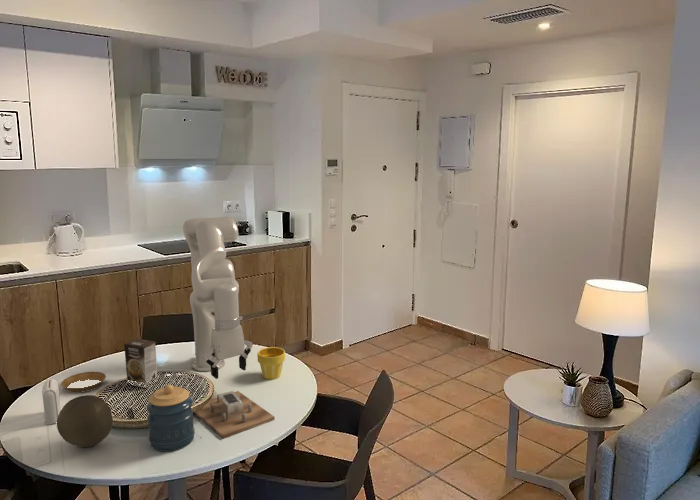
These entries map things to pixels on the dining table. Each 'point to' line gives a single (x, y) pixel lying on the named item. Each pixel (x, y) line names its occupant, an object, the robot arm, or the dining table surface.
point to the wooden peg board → (227, 428)
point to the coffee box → (140, 360)
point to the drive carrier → (231, 405)
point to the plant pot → (271, 362)
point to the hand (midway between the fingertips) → (229, 373)
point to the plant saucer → (83, 377)
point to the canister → (170, 419)
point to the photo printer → (51, 401)
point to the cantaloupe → (85, 421)
